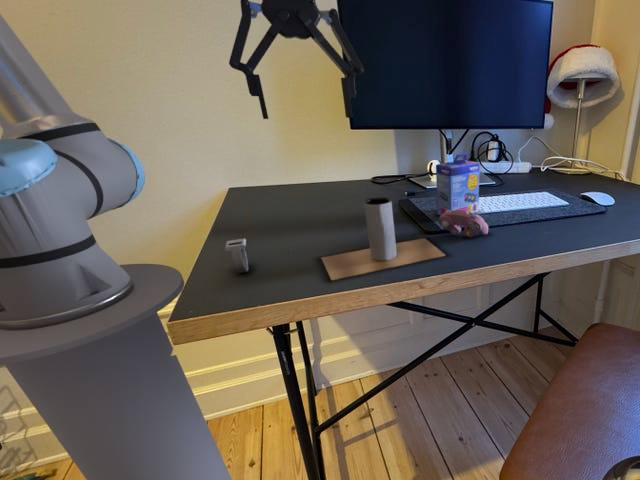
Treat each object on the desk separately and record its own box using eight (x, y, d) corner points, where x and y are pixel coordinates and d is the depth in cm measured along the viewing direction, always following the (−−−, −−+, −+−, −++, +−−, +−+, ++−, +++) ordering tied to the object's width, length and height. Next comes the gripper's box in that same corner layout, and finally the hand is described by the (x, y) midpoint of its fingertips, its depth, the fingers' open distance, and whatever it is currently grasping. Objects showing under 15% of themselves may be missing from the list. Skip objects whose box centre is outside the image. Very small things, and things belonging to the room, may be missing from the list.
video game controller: (441, 240, 79) (433, 216, 73) (448, 225, 81) (441, 201, 76) (484, 246, 76) (479, 221, 70) (491, 230, 78) (486, 205, 73)
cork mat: (331, 281, 58) (331, 279, 58) (321, 258, 66) (321, 257, 66) (445, 256, 67) (445, 255, 67) (424, 238, 75) (424, 238, 75)
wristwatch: (235, 265, 63) (226, 238, 61) (253, 262, 64) (245, 235, 62) (232, 279, 58) (223, 250, 56) (252, 276, 60) (244, 247, 57)
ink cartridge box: (451, 220, 86) (449, 156, 79) (436, 215, 89) (433, 153, 83) (480, 211, 92) (480, 152, 86) (464, 207, 96) (464, 149, 89)
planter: (366, 260, 65) (358, 203, 60) (377, 250, 69) (370, 196, 64) (391, 262, 64) (384, 204, 60) (400, 252, 68) (395, 197, 64)
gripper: (177, -59, 47) (224, 120, 56) (373, -27, 58) (385, 118, 67) (185, -42, 53) (227, 117, 62) (362, -16, 64) (375, 116, 73)
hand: (309, 118), depth 65 cm, fingers open, 13 cm apart
